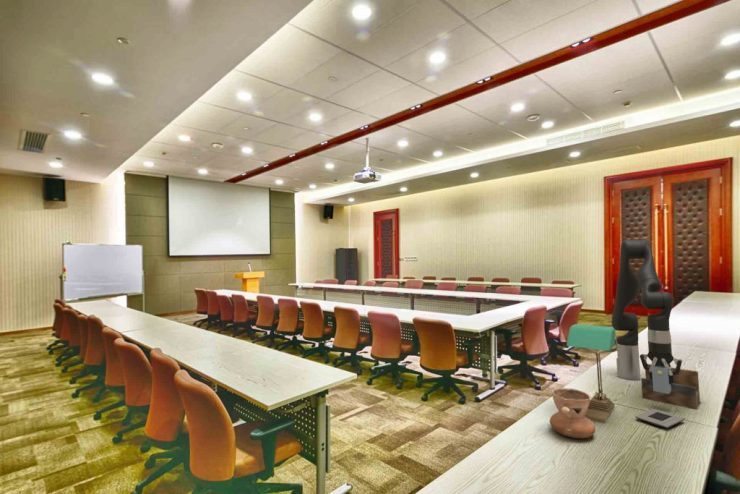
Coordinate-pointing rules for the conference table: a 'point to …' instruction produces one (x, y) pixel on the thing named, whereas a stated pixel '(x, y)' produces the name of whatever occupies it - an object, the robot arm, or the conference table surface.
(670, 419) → the electrical outlet
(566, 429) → the ceramic jug
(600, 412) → the banker's lamp
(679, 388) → the board
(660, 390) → the cabinet block
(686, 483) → the conference table surface
